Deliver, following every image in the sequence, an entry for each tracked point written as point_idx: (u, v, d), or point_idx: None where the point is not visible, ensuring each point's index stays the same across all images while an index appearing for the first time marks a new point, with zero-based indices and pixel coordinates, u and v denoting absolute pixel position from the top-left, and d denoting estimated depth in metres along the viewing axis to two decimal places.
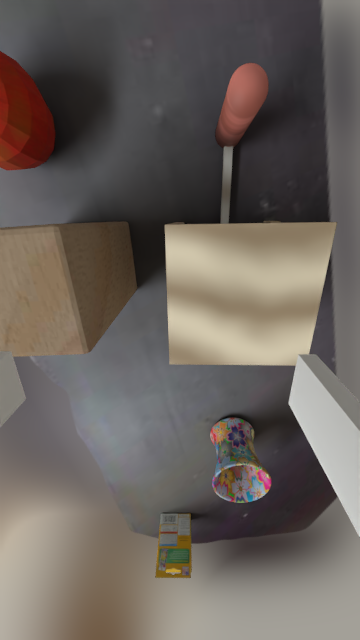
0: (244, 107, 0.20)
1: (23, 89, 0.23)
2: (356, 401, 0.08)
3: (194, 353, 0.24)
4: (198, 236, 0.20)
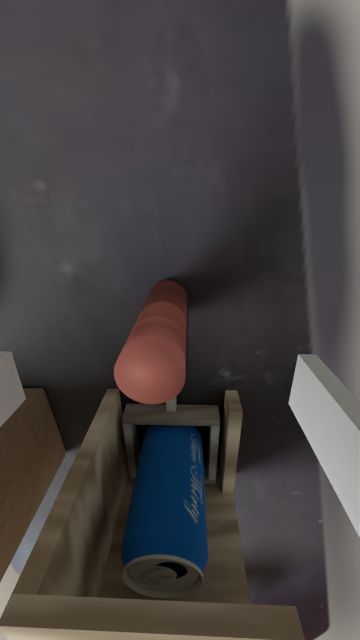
0: (146, 396, 0.11)
1: None
2: (355, 401, 0.08)
3: None
4: (60, 637, 0.11)
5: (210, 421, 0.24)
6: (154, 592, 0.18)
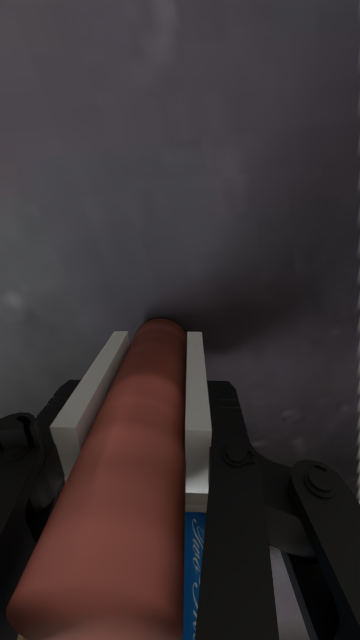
0: None
1: None
2: (204, 362, 0.10)
3: None
4: None
5: None
6: None
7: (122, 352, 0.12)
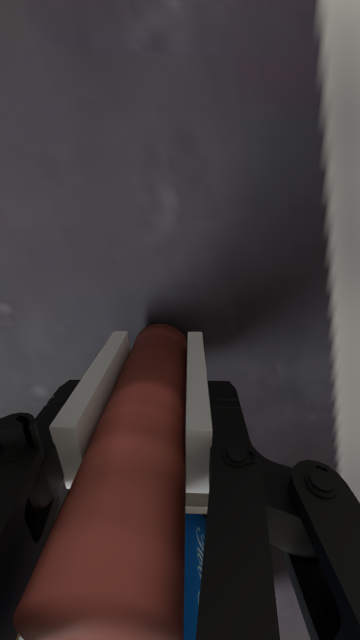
0: None
1: None
2: None
3: None
4: None
5: None
6: None
7: (122, 352, 0.12)
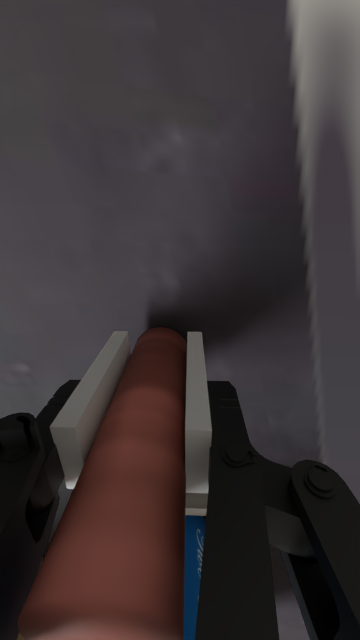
0: None
1: None
2: (204, 362, 0.10)
3: None
4: None
5: None
6: None
7: (122, 352, 0.12)
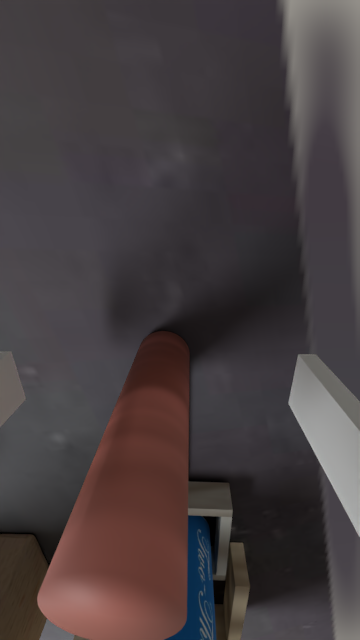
0: (109, 636, 0.06)
1: None
2: (355, 401, 0.08)
3: None
4: None
5: (219, 511, 0.18)
6: None
7: None
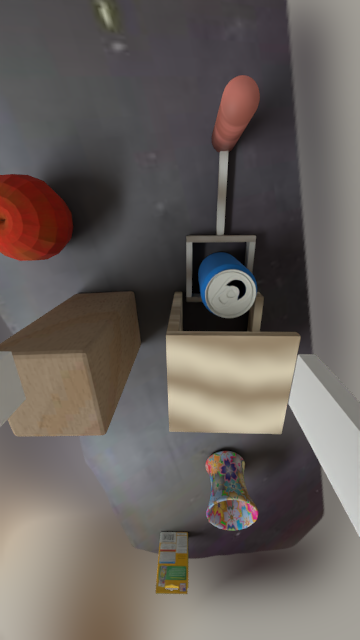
0: (237, 116, 0.21)
1: (51, 211, 0.28)
2: (355, 401, 0.08)
3: (189, 424, 0.29)
4: (192, 343, 0.25)
5: (249, 237, 0.34)
6: (221, 315, 0.28)
7: None
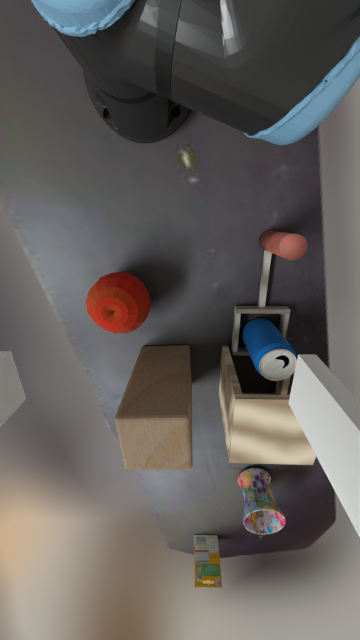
0: (291, 256, 0.32)
1: (145, 301, 0.38)
2: (355, 401, 0.08)
3: (245, 457, 0.39)
4: (253, 404, 0.35)
5: (285, 310, 0.44)
6: (269, 378, 0.38)
7: None
